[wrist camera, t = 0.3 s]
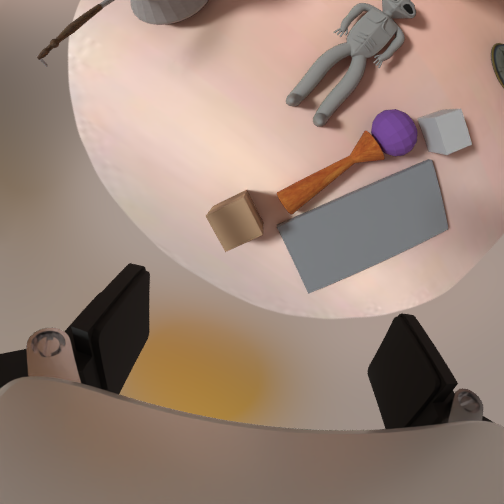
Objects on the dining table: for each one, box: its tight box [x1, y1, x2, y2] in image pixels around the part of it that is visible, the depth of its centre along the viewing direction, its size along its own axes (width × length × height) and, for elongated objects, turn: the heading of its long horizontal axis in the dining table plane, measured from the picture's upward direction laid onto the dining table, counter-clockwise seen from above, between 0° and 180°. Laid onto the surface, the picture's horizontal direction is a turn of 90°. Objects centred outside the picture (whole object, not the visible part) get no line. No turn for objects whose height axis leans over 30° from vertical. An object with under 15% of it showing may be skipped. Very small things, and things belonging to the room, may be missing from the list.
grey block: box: [417, 109, 472, 155], centre depth 30 cm, size 5×5×5 cm
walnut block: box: [206, 190, 263, 252], centre depth 36 cm, size 5×5×5 cm
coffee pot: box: [37, 0, 208, 67], centre depth 21 cm, size 21×12×15 cm, turn 135°
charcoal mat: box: [277, 159, 448, 294], centre depth 37 cm, size 24×11×1 cm, turn 116°
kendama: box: [277, 109, 417, 214], centre depth 33 cm, size 6×6×20 cm
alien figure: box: [286, 0, 416, 127], centre depth 27 cm, size 8×5×25 cm
